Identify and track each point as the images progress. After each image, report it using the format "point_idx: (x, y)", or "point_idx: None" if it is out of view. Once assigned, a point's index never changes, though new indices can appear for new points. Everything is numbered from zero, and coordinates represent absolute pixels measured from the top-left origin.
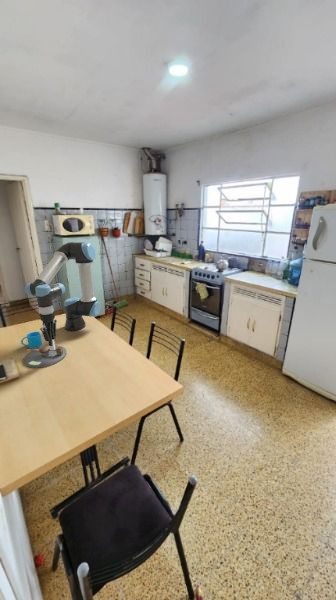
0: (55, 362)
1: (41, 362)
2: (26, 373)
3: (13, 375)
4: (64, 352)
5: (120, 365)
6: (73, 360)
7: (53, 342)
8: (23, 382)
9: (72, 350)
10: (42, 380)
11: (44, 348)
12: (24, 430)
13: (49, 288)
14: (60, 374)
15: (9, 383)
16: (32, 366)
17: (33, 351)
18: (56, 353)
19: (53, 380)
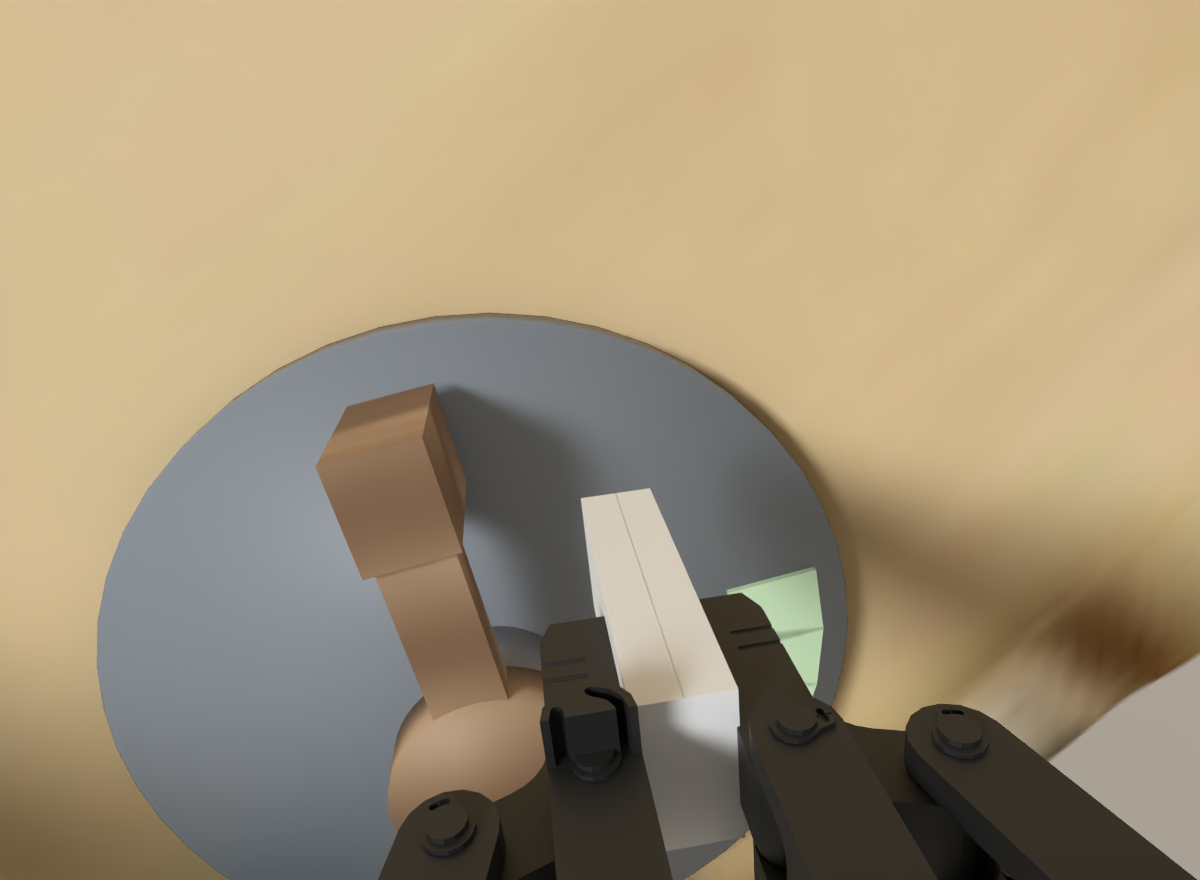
0: (663, 357)
1: (733, 580)
2: (971, 597)
3: (1019, 713)
4: (298, 406)
5: None
6: (468, 33)
7: (679, 626)
8: (1173, 483)
9: (100, 322)
10: (1143, 238)
11: (511, 782)
12: None
13: None
14: (981, 11)
15: (1180, 631)
16: (841, 633)
17: None
18: None
19: (1154, 33)
